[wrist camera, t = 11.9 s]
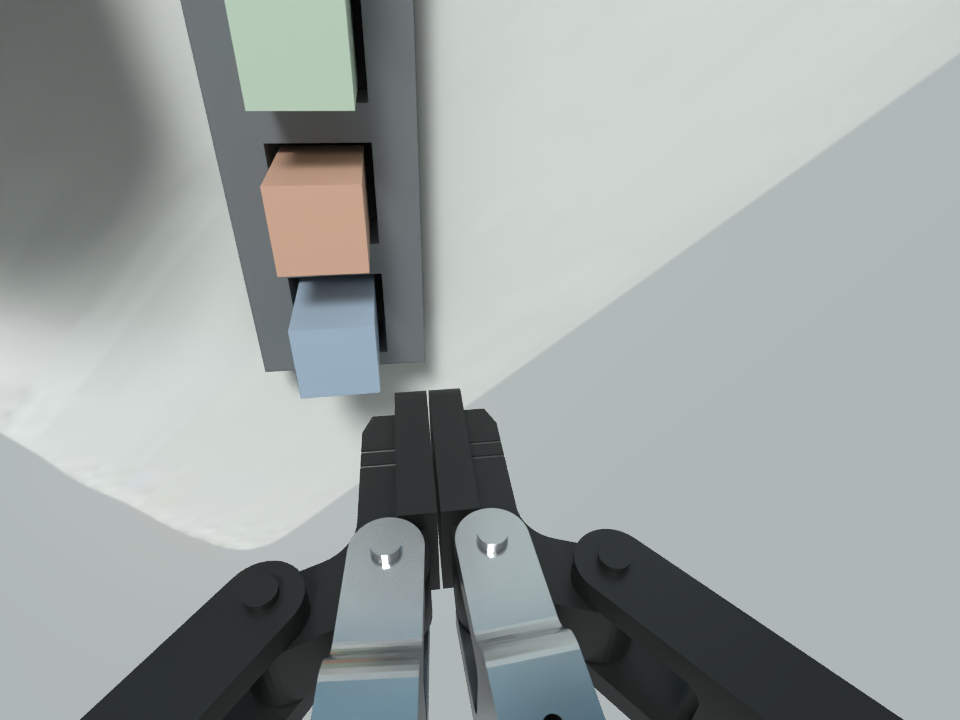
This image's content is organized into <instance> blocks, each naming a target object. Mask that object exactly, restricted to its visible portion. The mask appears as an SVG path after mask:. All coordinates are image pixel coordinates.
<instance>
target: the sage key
mask: <svg viewBox="0 0 960 720" xmlns="http://www.w3.org/2000/svg"><path fill="white" fill-rule="evenodd" d="M224 2H225V7H226V12H227V17H228V22H229V28H230V33H231V38H232V43H233V48H234V54H235V59H236V64H237V69H238V74H239V80H240V85H241V90H242V95H243V100H244V106H245V111H355V106H356V97H357V87H358V79H357V67H356V55H355V43H354V32H353V20H352V8H351V0H224Z"/></svg>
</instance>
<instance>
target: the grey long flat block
mask: <svg viewBox="0 0 960 720" xmlns="http://www.w3.org/2000/svg"><path fill="white" fill-rule="evenodd" d="M180 1H181V5H182V10H183V14H184V18H185V23H186V27H187V31H188V36H189V40H190V45H191V49H192V53H193V58H194V62H195V66H196V71H197V75H198V79H199V84H200V88H201V92H202V97H203V101H204V106H205V110H206V114H207V119H208V123H209V127H210V132H211V136H212V140H213V145H214V149H215V153H216V158H217V162H218V167H219V171H220V175H221V180H222V184H223V188H224V193H225V197H226V201H227V206H228V210H229V214H230V219H231V223H232V228H233V232H234V236H235V241H236V245H237V249H238V254H239V258H240V262H241V267H242V271H243V275H244V280H245V284H246V289H247V293H248V297H249V302H250V306H251V310H252V315H253V319H254V323H255V328H256V332H257V336H258V341H259V345H260V350H261V354H262V358H263V363H264V367H265V371H266V372H273V371H288V370H295V365H294V360H293V355H292V350H291V345H290V339H289V334H288V329H289V325H290V320H291V316H292V312H293V307H294V303H295V298H296V294H297V289H298V285H299V281H300V277H316V276H339V275H362V274H382V285H383V298H384V311H385V321H378V325H379V355H380V364H393V363H408V362H423V361H425V348H424V317H423V287H422V256H421V225H420V194H419V163H418V133H417V102H416V71H415V40H414V9H413V0H361V12H362V25H363V38H364V51H365V64H366V77H367V89H357V97H356V106H355V111H245V106H244V100H243V95H242V90H241V85H240V80H239V74H238V69H237V64H236V59H235V54H234V48H233V43H232V38H231V33H230V28H229V22H228V17H227V12H226V7H225V2H224V0H180ZM367 142H372V155H373V168H374V181H375V194H376V207H377V219H370V273H361V274H337V275H314V276H291V277H277V272H276V267H275V262H274V256H273V251H272V246H271V241H270V236H269V230H268V225H267V220H266V215H265V210H264V204H263V199H262V194H261V189H260V186H261V184H262V182H263V180H264V178H265V176H266V174H267V172H268V170H269V168H270V166H271V164H272V162H273V160H274V158H275V156H276V154H277V152H278V145H277V143H367Z"/></svg>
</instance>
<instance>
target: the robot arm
mask: <svg viewBox="0 0 960 720" xmlns="http://www.w3.org/2000/svg"><path fill="white" fill-rule="evenodd" d="M429 412H430V429H429V418H428V406H427V395H426V391H416V392H401V393H395V415H392V416H378V417H372V419H371V420H370V422H369V423H368V425H367V427H366V428H365V430H364V431H363V433H362V448H361V453H362V454H361V469H360V484H359V502H358V521H357V528H356V531H355V534H354V536H353V537H352V538H351V541H350V542H349V544H348V545H347V546H346V547H345V548H344V549H343V550H342V551H341V552H340V553H338V554H337V555H336V556H334V557H332V558H331V559H329V560H327V561H325V562H322V563H320V564H317V565H315V566H312V567H310V568H307V569H305V570H302V571H298V569H296V568H295V567H294V566H292V565H290V564H288V563H285V562H282V561H266V562H261V563H258V564H255V565H252V566H250V567H248V568H246V569H244V570H243V571H241V572H240V573H238V574H237V575H236V576H235V577H233V579H231V580H230V581H229V582H228V583H227V584H226V585H225V586H224V587H223V588H222V589H220V590H219V591H218V592H217V593H216V594H215V595H214V596H213V597H212V598H211V599H210V600H209V601H208V602H207V603H205V605H203V606H202V607H201V608H200V609H199V610H198V611H197V612H196V613H195V614H194V615H192V616H191V617H190V618H189V619H188V620H187V621H186V622H185V623H184V624H183V625H182V626H181V627H180V628H178V629H177V630H176V631H175V632H174V633H173V634H172V635H171V636H170V637H169V638H168V639H167V640H165V641H164V642H163V643H162V644H161V645H160V646H159V647H158V648H157V649H156V650H155V651H154V652H153V653H151V654H150V655H149V656H148V657H147V658H146V659H145V660H144V661H143V662H142V663H141V664H140V665H138V667H136V668H135V669H134V670H133V671H132V672H131V673H130V674H129V675H128V676H127V677H126V678H124V679H123V680H122V681H121V682H120V683H119V684H118V685H117V686H116V687H115V688H114V689H113V690H112V691H111V692H109V693H108V694H107V695H106V696H105V697H104V698H103V699H102V700H101V701H100V702H99V703H97V704H96V705H95V706H94V707H93V708H92V709H91V710H90V711H89V712H88V713H87V714H86V715H85V716H84V717H82V718H81V719H80V720H302V718H303V717H304V716H305V715H306V713H307V712H308V711H309V710H310V708H311V707H312V706H313V708H312V714H311V720H428V711H429V710H428V709H429V708H428V707H429V649H430V624H431V620H432V600H431V590H436V589H440V578H439V553H438V535H439V546H440V556H441V568H442V580H443V588H452V587H454V595H455V604H456V627H457V633H458V638H459V643H460V649H461V654H462V660H463V665H464V671H465V676H466V682H467V687H468V692H469V698H470V703H471V709H472V714H473V720H606V719H605V717H604V714H603V711H602V708H601V706H600V703H599V700H598V697H597V695H596V692H595V689H594V687H595V688H596V689H597V690H598V691H599V692H600V693H601V694H602V695H604V696H605V697H606V698H607V699H608V700H609V701H610V702H612V703H613V704H614V705H615V706H616V707H617V708H618V709H619V710H620V711H622V712H623V713H624V714H625V715H626V716H627V717H628V718H630V719H631V720H903V719H902V718H900V717H898V716H897V715H896V714H894V713H893V712H891V711H890V710H888V709H887V708H885V707H884V706H882V705H881V704H879V703H878V702H876V701H875V700H873V699H872V698H870V697H869V696H867V695H866V694H865V693H863V692H861V691H860V690H859V689H857V688H855V687H854V686H853V685H851V684H850V683H848V682H847V681H845V680H844V679H842V678H841V677H839V676H838V675H836V674H835V673H833V672H832V671H830V670H829V669H827V668H826V667H825V666H823V665H821V664H820V663H819V662H817V661H816V660H814V659H813V658H811V657H809V656H808V655H807V654H805V653H804V652H802V651H801V650H799V649H798V648H796V647H795V646H793V645H792V644H790V643H789V642H788V641H786V640H784V639H783V638H782V637H780V636H779V635H777V634H776V633H774V632H773V631H771V630H770V629H768V628H767V627H765V626H764V625H762V624H761V623H759V622H758V621H756V620H755V619H753V618H752V617H750V616H749V615H747V614H746V613H745V612H743V611H741V610H740V609H739V608H737V607H736V606H734V605H733V604H731V603H730V602H728V601H727V600H725V599H724V598H722V597H721V596H719V595H718V594H716V593H715V592H713V591H712V590H710V589H709V588H708V587H706V586H705V585H703V584H702V583H700V582H699V581H697V580H696V579H694V578H693V577H691V576H690V575H688V574H687V573H685V572H684V571H682V570H681V569H679V568H678V567H676V566H675V565H673V564H672V563H670V562H669V561H668V560H666V559H665V558H663V557H662V556H660V555H659V554H657V553H656V552H654V551H653V550H651V549H650V548H648V547H647V546H645V545H644V544H642V543H641V542H639V541H638V540H636V539H635V538H633V537H632V536H630V535H628V534H625V533H623V532H620V531H617V530H612V529H600V530H595V531H592V532H590V533H588V534H586V535H585V536H583V537H582V538H581V539H580V540H579V542H578V543H574V542H569V541H564V540H559V539H554V538H550V537H547V536H544V535H541V534H539V533H538V532H536V531H534V530H533V529H531V528H530V527H529V526H528V525H527V524H526V523H525V522H524V521H523V520H522V518H521V517H520V515H519V513H518V511H517V508H516V504H515V499H514V495H513V491H512V487H511V483H510V478H509V474H508V470H507V466H506V461H505V457H504V453H503V449H502V445H501V442H500V436H499V432H498V428H497V423H496V422H495V421H494V420H493V418H492V417H491V416H490V415H489V414H488V413H487V412H486V411H485V409H473V410H464V409H463V403H462V397H461V391H460V389H444V390H429ZM430 435H431V440H430ZM437 523H438V527H437Z"/></svg>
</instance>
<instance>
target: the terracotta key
mask: <svg viewBox="0 0 960 720" xmlns="http://www.w3.org/2000/svg"><path fill="white" fill-rule="evenodd" d="M260 189H261V194H262V199H263V204H264V210H265V215H266V220H267V225H268V230H269V236H270V241H271V246H272V251H273V256H274V262H275V267H276V272H277V277H291V276H314V275H337V274H361V273H370V219H369V208H368V196H367V184H366V172H365V161H364V149H363V145H332V146H280V148H279V150H278V152H277V154H276V156H275V158H274V160H273V162H272V164H271V166H270V168H269V170H268V172H267V174H266V176H265V178H264V180H263V182H262V184H261V186H260Z"/></svg>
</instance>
